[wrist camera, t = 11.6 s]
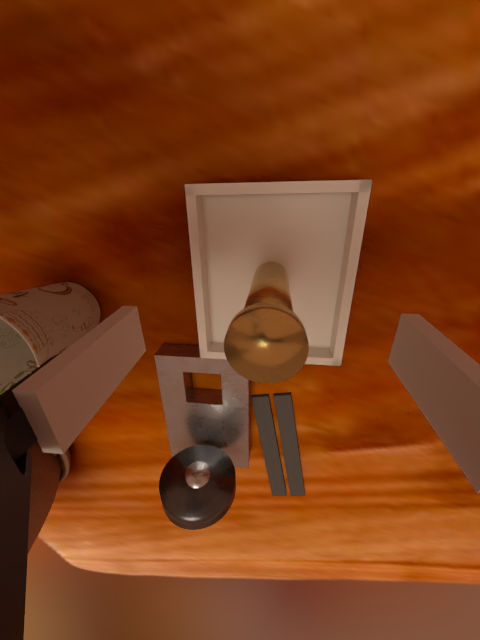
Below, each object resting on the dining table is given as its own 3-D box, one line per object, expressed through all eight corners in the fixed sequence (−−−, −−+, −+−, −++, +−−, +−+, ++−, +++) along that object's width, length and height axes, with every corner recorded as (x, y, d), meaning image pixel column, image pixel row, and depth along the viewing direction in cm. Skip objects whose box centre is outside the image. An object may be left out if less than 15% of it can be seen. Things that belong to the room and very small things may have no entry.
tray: (193, 185, 23) (184, 184, 21) (362, 181, 21) (372, 179, 19) (206, 345, 29) (200, 357, 27) (335, 352, 28) (340, 365, 26)
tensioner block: (163, 343, 30) (107, 414, 20) (250, 348, 29) (237, 425, 19) (178, 443, 37) (142, 534, 27) (250, 450, 35) (240, 548, 26)
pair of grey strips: (251, 395, 32) (251, 397, 31) (290, 392, 31) (290, 394, 30) (272, 492, 38) (272, 495, 38) (304, 492, 38) (305, 495, 37)
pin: (248, 256, 24) (221, 308, 12) (294, 256, 24) (312, 311, 12) (248, 299, 26) (225, 381, 14) (291, 300, 25) (305, 386, 14)
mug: (108, 277, 28) (26, 315, 19) (116, 374, 33) (56, 440, 24) (33, 265, 28) (-82, 295, 19) (54, 362, 33) (-29, 422, 24)
